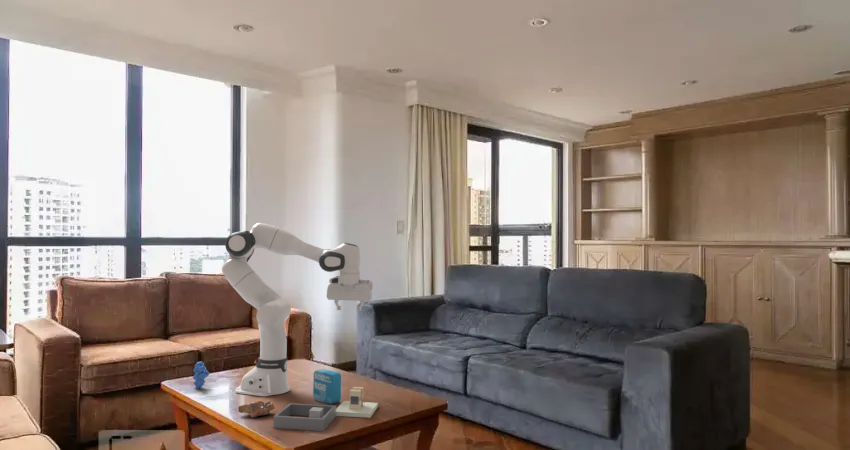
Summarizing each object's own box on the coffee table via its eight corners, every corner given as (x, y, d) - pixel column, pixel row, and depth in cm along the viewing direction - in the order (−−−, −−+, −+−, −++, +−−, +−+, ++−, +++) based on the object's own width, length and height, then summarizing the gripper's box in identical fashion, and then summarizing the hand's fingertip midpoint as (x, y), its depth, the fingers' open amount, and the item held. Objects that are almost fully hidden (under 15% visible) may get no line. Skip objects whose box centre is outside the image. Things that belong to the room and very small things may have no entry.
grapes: (213, 390, 250) (214, 362, 250) (197, 392, 246) (198, 363, 246) (205, 384, 260) (206, 357, 260) (189, 386, 256) (190, 358, 256)
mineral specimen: (246, 417, 210) (243, 399, 213) (239, 423, 215) (236, 405, 218) (277, 411, 218) (273, 393, 220) (270, 417, 223) (266, 400, 225)
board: (333, 415, 219) (333, 411, 219) (343, 404, 233) (343, 400, 233) (370, 417, 217) (370, 413, 217) (377, 406, 231) (377, 402, 231)
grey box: (309, 424, 209) (309, 410, 209) (312, 420, 213) (312, 407, 213) (319, 425, 208) (320, 411, 208) (323, 421, 212) (323, 407, 212)
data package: (312, 399, 240) (313, 370, 240) (321, 396, 243) (321, 368, 244) (332, 405, 232) (333, 374, 232) (340, 402, 236) (341, 372, 236)
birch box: (353, 404, 228) (353, 386, 228) (363, 405, 228) (363, 387, 228) (349, 409, 222) (349, 391, 222) (359, 409, 222) (359, 391, 222)
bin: (273, 427, 204) (273, 416, 204) (289, 413, 220) (289, 403, 220) (323, 431, 202) (323, 419, 202) (335, 416, 218) (335, 405, 218)
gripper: (374, 279, 262) (373, 310, 262) (329, 278, 264) (329, 308, 264) (371, 280, 256) (370, 312, 255) (325, 279, 258) (325, 310, 258)
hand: (349, 310), depth 260 cm, fingers open, 8 cm apart
